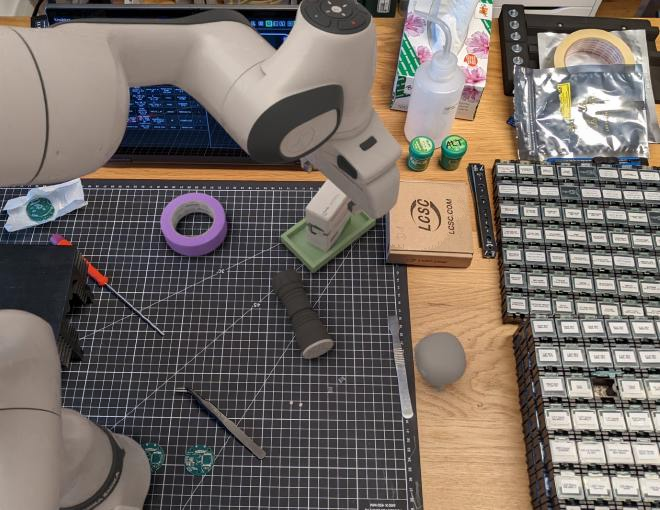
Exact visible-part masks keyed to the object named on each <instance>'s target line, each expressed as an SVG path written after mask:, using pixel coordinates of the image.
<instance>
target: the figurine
mask: <svg viewBox="0 0 660 510" xmlns="http://www.w3.org/2000/svg"><path fill="white" fill-rule="evenodd" d="M413 350H414V352H413V353H414V362H415V367H416V370H417V373H418V375H419V376H420V377H421V379H423V381H425V382H426V383H428V384H429V385H430V387H432V388H434V390H436V393H437V394H438V393H442V392H443V391H444V389H445V387H446V386H449V385H452V384H454V383H456V382H458V381H460V380H461V378H462V377H463V376H464V374H465V372H466V369H467V355H466V352H465V349H464V346H463V343H461V341H460V339H459V338H458V337H457V336H456V335H454V334H453V333H450V332H446V331H437V332H433V333H430V334H428V335H425V336H423V338H421V339H419V341H418V342H417V343H416V344H415V346H414V349H413Z"/></svg>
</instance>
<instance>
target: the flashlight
mask: <svg viewBox="0 0 660 510" xmlns="http://www.w3.org/2000/svg"><path fill="white" fill-rule="evenodd" d="M271 282H272V283H271V287H272V289H273V291H274V293H275V296H276V297H278V298H279V300H280V302H281V304H282V305H283V308H284V309H285V312H286V313H287V315H288V317H289V319H290V321H291V323H290V326H291V329H292V331H293V334H295V340H296V343H297V344H296V345H297V346H298V348H299V351H300V353H301V355H302V357H303V359H305V360H306V359H307V360H310V359H311V360H312V359H314V358H317V357H321V356H322V355H324V354H326V353H327V352H329V351H330V350H331V349H332V348H333V346H334V340H333V339H332V337H331V335H330V333H329V330H328V329H327V327H326V325H324V323H323V322H322V319H321V318H320V316H319V313H317V312H316V311H314V308H313V305H312V304H311V301H310V299H309V296H308V294H307V290H306V289H305V285H304V284H305V283H304V281H303V278H302V275H301V274H300V272H298V271H297V270H296V269H295V268H286V269H283V270H280V271H279V272H277V273H276V274H275V275H274V276H273V277H272V279H271Z"/></svg>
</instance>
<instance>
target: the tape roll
mask: <svg viewBox="0 0 660 510" xmlns="http://www.w3.org/2000/svg"><path fill="white" fill-rule="evenodd" d="M193 213H201V214H202V213H203V214H205V215H208V216H209V217H210V218H212V219H213V222H212V224H211V226H210V227H209V228H208V230H206V231H205V232H203V233H201V234H199V235H196V236H186V235H183V234H181V233H179V232H178V231H176V228H177V225H178V223H179V221H180V220H182V218H184V217H185V216H187V215H189V214H193ZM159 224H160V229H161V232H162V234H163V236H164V239H165V242H166V243H167V245H168V246H169V247H170V249H171V250H173V252H176V253H177V254H180V255H182V256H186V257H201V256H205V255H207V254H209V253H212V252H213V251H215V250H216V249H218V248H219V247H220V246H221V244H222V243H223V242H224V240H225V238H226V236H227V232H228V221H227V217H226V213H225V210H224V207H223V205H222V204H221V203H220V201H219V200H217V199H216V197H213V196H212V195H209V194H207V193H202V192H188V193H183V194H181V195H179V196H177V197H175V198H174V199H171V201H170V202H169V203H167V205H166V206H165V208H164V209H162V213H161V216H160V223H159Z"/></svg>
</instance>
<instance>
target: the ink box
mask: <svg viewBox="0 0 660 510" xmlns="http://www.w3.org/2000/svg"><path fill="white" fill-rule="evenodd" d="M350 201H351V199H350V198H349V197H348V196H346V195H345V194H344V193H343V192H342V191H341V190H340V189H339V188H338V187H336V186H335V185H334V184H333V183H332V182H331V181H330V180H329V179H328V178H326V180H325V182H324V183H323V184H322V186H321V187H320V188H319V190H318V191H317V192H316V194H315V195H314V196H313V197H312V198H311V200H310V201H309V203H308V204H307V205H306V207H305V209H304V211H305V217H306V235H307V243H308V244H310V245H312V246H313V247H315V248H317V249H319V250H321V251H322V252H324V253H327V252H328V251H330V250H331V248H332V247H333V246H334V244H335V243H336V241H337V240H338V238H339V237H340V236H341V234H342V233H343V231H344V230H345V228H346V227H347V226H348V224H349V223H350V221H351V212H350V211H349V210H348V209H347V208H348V206H347V205H348V203H349V202H350Z"/></svg>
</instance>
